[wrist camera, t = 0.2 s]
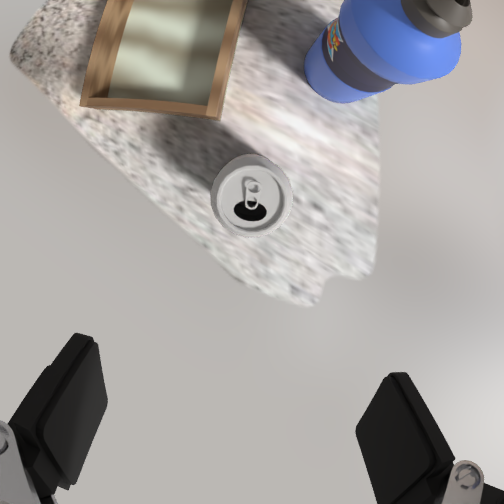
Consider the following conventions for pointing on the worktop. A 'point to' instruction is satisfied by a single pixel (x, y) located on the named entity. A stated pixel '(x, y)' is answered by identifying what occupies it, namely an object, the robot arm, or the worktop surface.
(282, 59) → the worktop surface
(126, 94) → the crate
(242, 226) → the can
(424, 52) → the water bottle
